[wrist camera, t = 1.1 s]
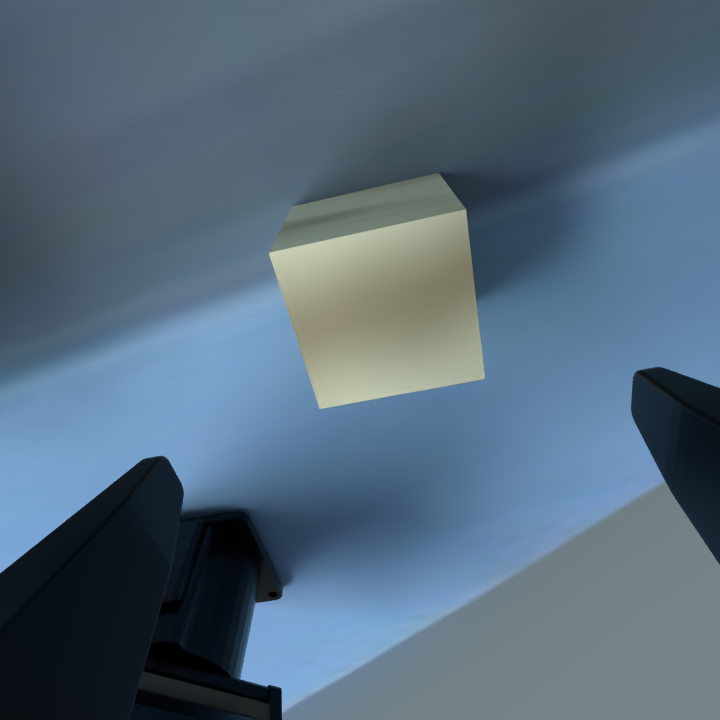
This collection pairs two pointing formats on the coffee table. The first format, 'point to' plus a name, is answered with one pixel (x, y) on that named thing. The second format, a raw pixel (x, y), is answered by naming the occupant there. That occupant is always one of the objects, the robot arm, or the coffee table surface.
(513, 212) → the coffee table surface
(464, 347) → the birch cube
